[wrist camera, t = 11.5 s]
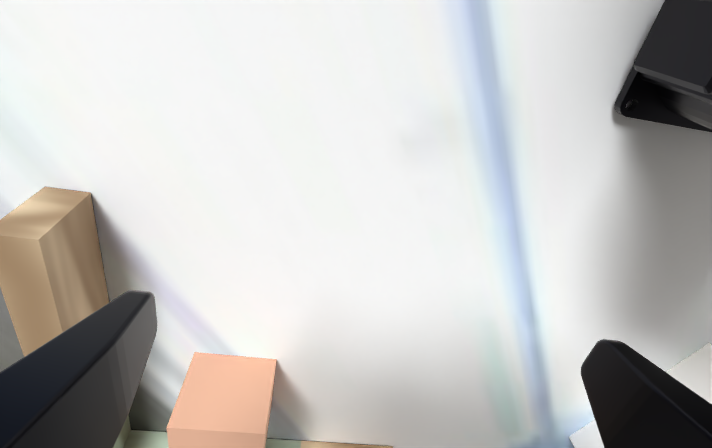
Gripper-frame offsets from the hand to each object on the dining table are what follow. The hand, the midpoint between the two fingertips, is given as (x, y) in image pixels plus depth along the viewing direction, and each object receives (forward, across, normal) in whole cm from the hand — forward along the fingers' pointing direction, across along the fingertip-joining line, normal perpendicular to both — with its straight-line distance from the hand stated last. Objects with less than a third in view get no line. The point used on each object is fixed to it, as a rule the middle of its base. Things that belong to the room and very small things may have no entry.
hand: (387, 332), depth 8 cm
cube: (+12, +5, +18) cm, 22 cm away
